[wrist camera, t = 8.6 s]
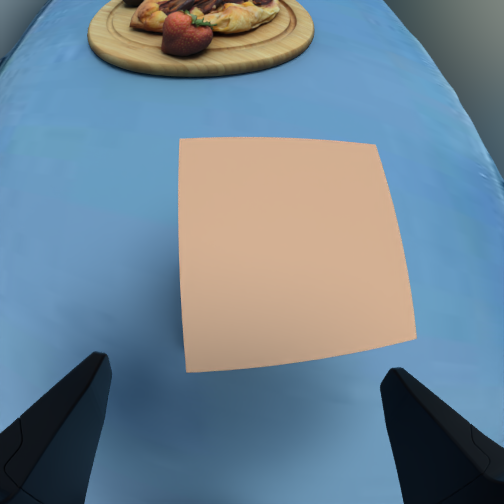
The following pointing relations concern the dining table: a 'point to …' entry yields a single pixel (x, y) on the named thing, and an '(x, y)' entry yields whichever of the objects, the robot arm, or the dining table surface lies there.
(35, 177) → the dining table surface
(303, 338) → the peach block
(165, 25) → the wooden plate with food
